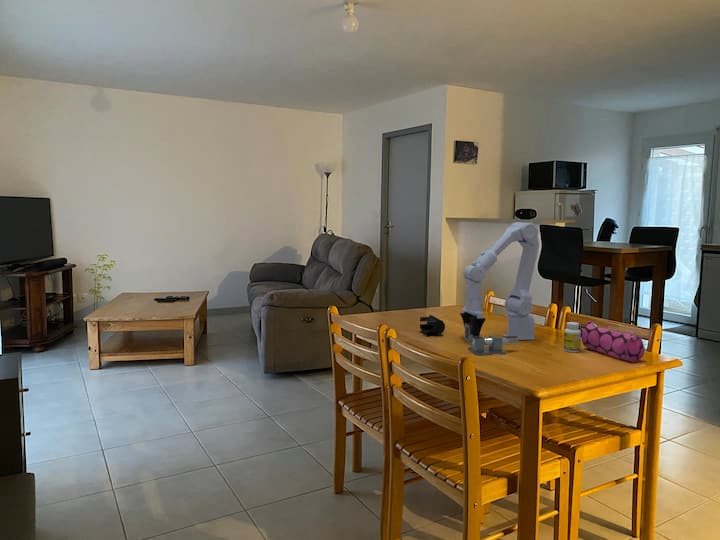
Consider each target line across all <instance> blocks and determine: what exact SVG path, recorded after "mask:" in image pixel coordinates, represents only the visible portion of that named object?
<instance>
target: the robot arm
mask: <svg viewBox="0 0 720 540" xmlns="http://www.w3.org/2000/svg"><path fill="white" fill-rule="evenodd" d="M539 232H540V231H539V229H538V228H537V226H536V225H535V224H534V223H533V222H530V221H529V222H519V221H514V222H513V223H511V224H510V226H508V227H507V228H506V229H505V232H504V233H503V234H502V236H500V237H499V239H498V240H497V241H496V243H495V244H493V246H492V247H491V248H490V249H488V250H487V249H486V250H482V251H481V252H480V255H479V256H478V258H477V259H475V261H474V260H473V261H472V263H471V264H470V265H467V266H466V267H465V269H464V270H463V272H462V276H463V278H464V280H465V296H464V297H465V298H464V299H465V300H464V301H465V303H464V306H463V307H462V309H461V312H460V313H459V315H460V317H461V320H462V322H463V327H464V329H465V323H471V325H472V334H473V336H479V335H480V336H481V331H482V327H483V325H484V323H485V322H486V318H485V317H484V313H483V312H482V288H483V287H482V284H483V283H482V282H483V281H484V279H485V278H486V274H487V272H488V271H489V270H490V269H492V268H491V267H493V266H494V265H495V264H496V262H497V261H498V256H499V255H500V254H502V252H504V250H506V248H507V247H509V246H510V245H511V244H512V243H514V242H517V243H519V245H520V246H521V247H522V252H521V256H520V260H519V265H518V270H517V274H516V278H515V283H514V287H513V288H512V290H510V291H509V294H508V295H507V298H506V300H505V301H504V307H505V309H506V311H507V314H508V315H507V334H505V333H503V335H502V337H506V336H517V337H518V339H519V341H523V340H525V341H526V340H527V341H529V340H531V341H532V340H536V338H535V328H536V327H535V323H536V321H535V319H534V316H533V315H532V314H530V313H531V312H532V310H533V305H532V300H533V298H532V295H531V293H530V287H531V283H532V278H533V274H534V270H535V265H536V261H537V256H538V252H539V247H540V244H539V243H540V242H539V238H538V237H539V236H538V235H539Z"/></svg>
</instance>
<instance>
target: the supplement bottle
mask: <svg viewBox="0 0 720 540" xmlns="http://www.w3.org/2000/svg"><path fill="white" fill-rule="evenodd" d="M579 328H580V323H579V322H576V321H575V322H574V321H569V322H568V321H567V322H566V328H565V329H564V332H563V351H565V352H567V353H579V352H580V351H581V342H582V337H581V332H582V331H581V329H579Z"/></svg>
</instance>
